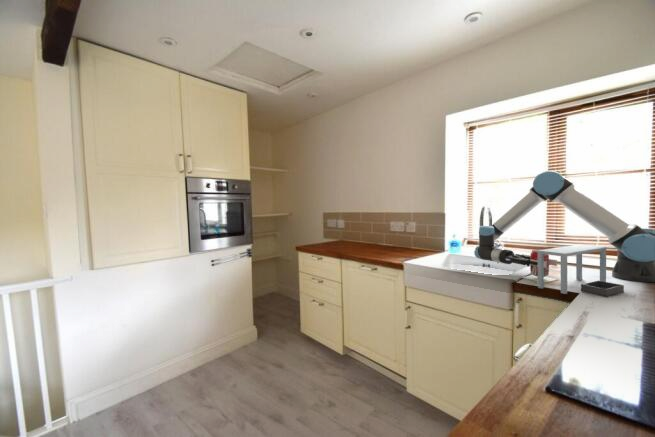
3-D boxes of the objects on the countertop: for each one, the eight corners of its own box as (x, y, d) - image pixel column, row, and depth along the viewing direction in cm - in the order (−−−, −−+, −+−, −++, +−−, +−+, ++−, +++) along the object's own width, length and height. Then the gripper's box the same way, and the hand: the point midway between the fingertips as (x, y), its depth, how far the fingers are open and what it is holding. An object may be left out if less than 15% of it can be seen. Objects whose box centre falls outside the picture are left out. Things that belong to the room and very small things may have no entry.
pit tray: (597, 287, 115) (597, 280, 115) (623, 292, 108) (623, 285, 108) (581, 291, 111) (581, 284, 111) (607, 297, 103) (607, 289, 103)
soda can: (532, 273, 135) (532, 249, 135) (550, 275, 130) (550, 250, 130) (528, 275, 131) (528, 251, 130) (547, 278, 126) (547, 252, 125)
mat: (535, 275, 137) (535, 274, 137) (558, 280, 128) (558, 279, 128) (521, 277, 133) (521, 277, 133) (544, 282, 124) (544, 282, 124)
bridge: (578, 278, 129) (578, 244, 128) (606, 284, 119) (606, 247, 119) (537, 287, 118) (537, 250, 117) (565, 294, 109) (564, 253, 108)
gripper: (515, 261, 151) (564, 269, 129) (490, 265, 143) (537, 274, 122) (515, 247, 150) (564, 253, 129) (490, 250, 143) (537, 257, 122)
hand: (551, 263), depth 126 cm, fingers closed on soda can, 7 cm apart
